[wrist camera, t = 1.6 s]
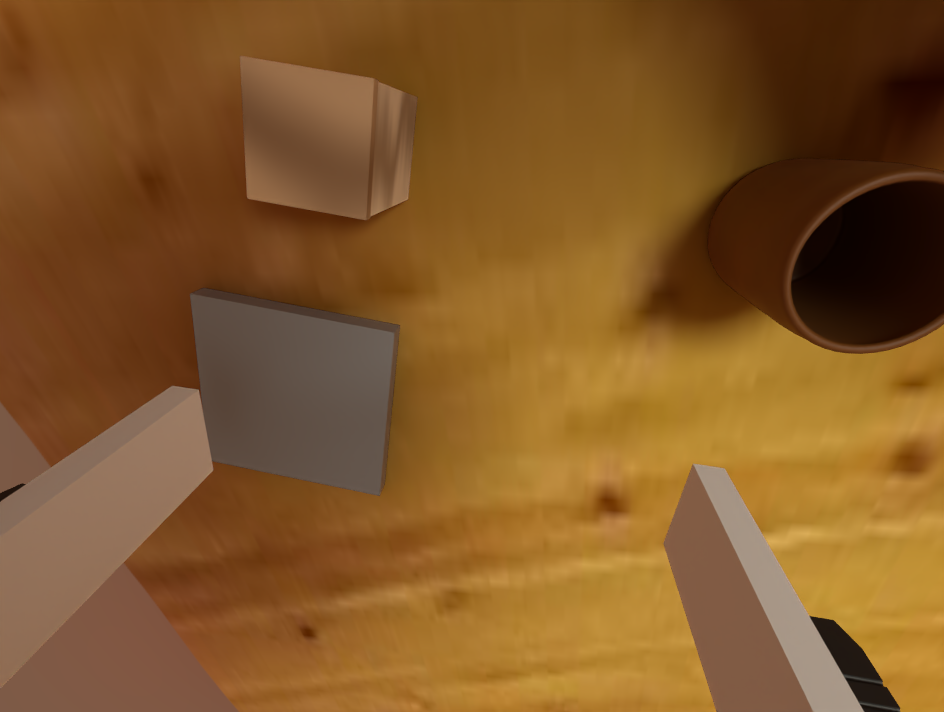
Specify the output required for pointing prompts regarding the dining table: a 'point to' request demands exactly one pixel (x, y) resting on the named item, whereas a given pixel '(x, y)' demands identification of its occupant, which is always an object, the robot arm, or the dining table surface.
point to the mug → (837, 250)
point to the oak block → (325, 139)
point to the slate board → (295, 389)
